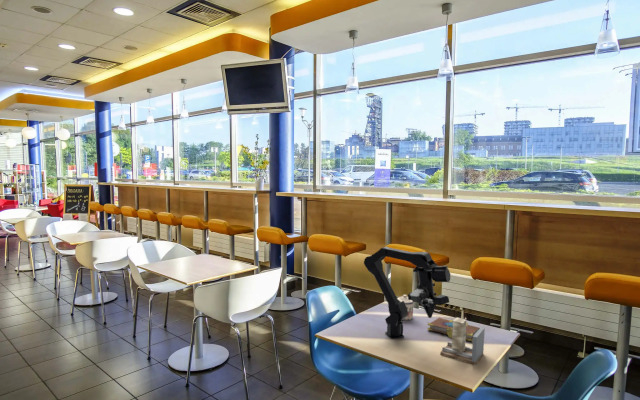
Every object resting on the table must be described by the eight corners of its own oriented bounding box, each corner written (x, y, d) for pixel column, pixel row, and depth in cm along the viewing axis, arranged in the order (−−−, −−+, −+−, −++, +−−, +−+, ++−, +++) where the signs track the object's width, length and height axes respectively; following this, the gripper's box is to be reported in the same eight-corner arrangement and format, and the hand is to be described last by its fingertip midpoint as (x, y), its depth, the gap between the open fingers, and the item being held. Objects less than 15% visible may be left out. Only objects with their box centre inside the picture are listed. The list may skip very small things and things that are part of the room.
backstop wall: (471, 361, 156) (472, 336, 156) (479, 350, 166) (480, 327, 165) (475, 362, 155) (476, 337, 155) (483, 351, 165) (484, 328, 164)
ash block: (451, 351, 164) (453, 320, 163) (455, 347, 168) (456, 317, 167) (461, 354, 162) (462, 323, 161) (465, 349, 166) (466, 319, 165)
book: (430, 322, 203) (431, 312, 203) (480, 334, 188) (481, 324, 188) (417, 330, 190) (418, 319, 190) (470, 344, 175) (470, 333, 175)
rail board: (440, 354, 164) (440, 349, 163) (449, 344, 173) (449, 339, 173) (475, 364, 155) (475, 359, 155) (483, 353, 165) (483, 348, 165)
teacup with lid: (410, 321, 200) (411, 298, 199) (393, 318, 204) (393, 296, 203) (416, 314, 210) (417, 292, 210) (399, 311, 215) (400, 290, 214)
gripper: (397, 283, 176) (401, 318, 175) (429, 287, 160) (434, 326, 160) (414, 278, 182) (418, 312, 181) (447, 282, 166) (452, 319, 166)
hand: (430, 317), depth 172 cm, fingers closed
